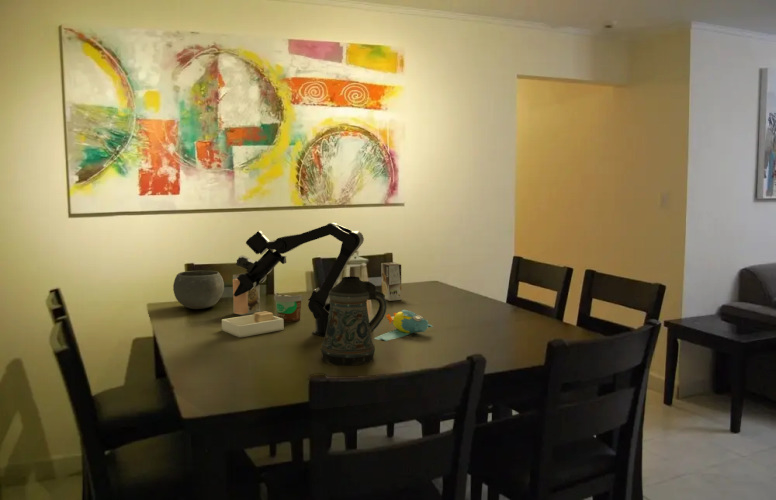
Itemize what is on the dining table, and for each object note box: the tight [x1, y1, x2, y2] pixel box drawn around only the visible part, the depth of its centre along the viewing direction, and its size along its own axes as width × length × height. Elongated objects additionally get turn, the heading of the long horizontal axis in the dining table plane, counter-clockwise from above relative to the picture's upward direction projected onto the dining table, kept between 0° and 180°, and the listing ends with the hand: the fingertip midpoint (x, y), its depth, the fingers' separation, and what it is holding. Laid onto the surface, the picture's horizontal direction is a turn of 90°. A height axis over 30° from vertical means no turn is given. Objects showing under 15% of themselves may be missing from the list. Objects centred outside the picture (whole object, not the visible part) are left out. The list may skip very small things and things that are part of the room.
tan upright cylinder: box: [232, 278, 248, 315], centre depth 230 cm, size 5×5×12 cm
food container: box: [273, 292, 304, 323], centre depth 247 cm, size 12×6×10 cm, turn 62°
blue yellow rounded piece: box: [373, 309, 434, 342], centre depth 228 cm, size 28×9×15 cm
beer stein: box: [320, 276, 388, 367], centre depth 196 cm, size 16×19×25 cm
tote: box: [221, 314, 285, 339], centre depth 232 cm, size 14×18×4 cm
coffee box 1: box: [232, 273, 261, 316], centre depth 261 cm, size 9×6×16 cm
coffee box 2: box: [380, 261, 402, 302], centre depth 290 cm, size 9×6×16 cm
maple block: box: [253, 310, 274, 323], centre depth 235 cm, size 5×5×5 cm
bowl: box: [172, 270, 225, 310], centre depth 270 cm, size 20×20×15 cm
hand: (236, 294), depth 230 cm, fingers closed on tan upright cylinder, 5 cm apart
